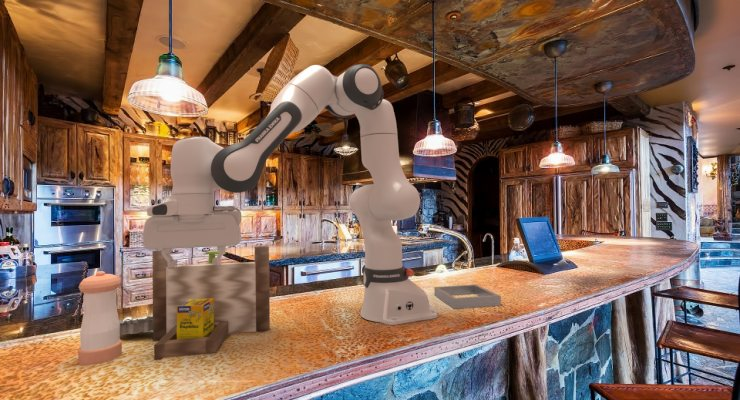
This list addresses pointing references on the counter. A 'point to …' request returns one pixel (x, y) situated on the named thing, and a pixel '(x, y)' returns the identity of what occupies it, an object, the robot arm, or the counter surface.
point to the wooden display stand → (203, 281)
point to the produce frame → (481, 300)
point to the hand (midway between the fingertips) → (195, 267)
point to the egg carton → (136, 325)
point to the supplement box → (195, 318)
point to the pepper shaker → (99, 320)
